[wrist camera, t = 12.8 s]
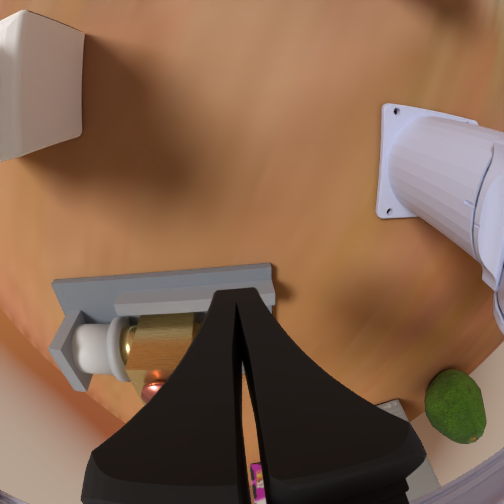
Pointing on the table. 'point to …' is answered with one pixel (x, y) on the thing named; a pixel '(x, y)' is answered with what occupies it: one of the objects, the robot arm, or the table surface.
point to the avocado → (456, 406)
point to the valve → (156, 349)
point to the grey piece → (135, 311)
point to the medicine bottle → (38, 83)
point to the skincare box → (424, 475)
